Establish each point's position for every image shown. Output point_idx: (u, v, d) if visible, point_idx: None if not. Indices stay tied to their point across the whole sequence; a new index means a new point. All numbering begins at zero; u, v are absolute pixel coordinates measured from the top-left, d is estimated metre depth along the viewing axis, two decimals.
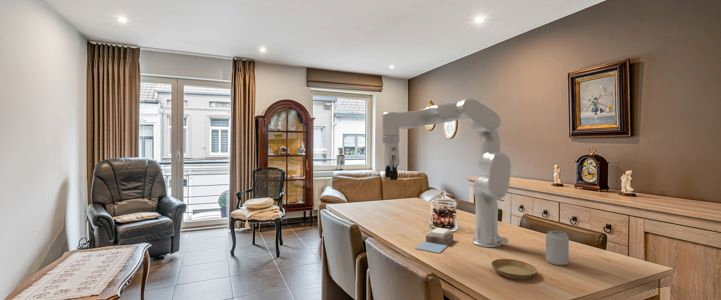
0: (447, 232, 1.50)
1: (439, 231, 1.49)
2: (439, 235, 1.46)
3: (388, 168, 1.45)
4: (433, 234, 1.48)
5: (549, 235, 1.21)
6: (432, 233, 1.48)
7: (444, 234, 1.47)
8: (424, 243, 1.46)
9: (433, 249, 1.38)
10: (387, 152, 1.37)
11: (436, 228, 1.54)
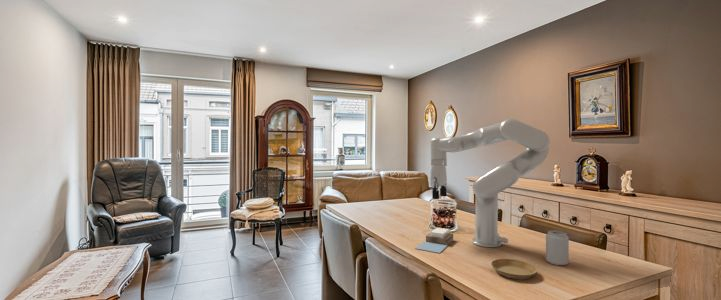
0: (447, 232, 1.50)
1: (439, 231, 1.49)
2: (439, 235, 1.46)
3: None
4: (433, 234, 1.48)
5: (549, 235, 1.21)
6: (432, 233, 1.48)
7: (444, 234, 1.47)
8: (424, 243, 1.46)
9: (433, 249, 1.38)
10: (445, 173, 1.57)
11: (436, 228, 1.54)
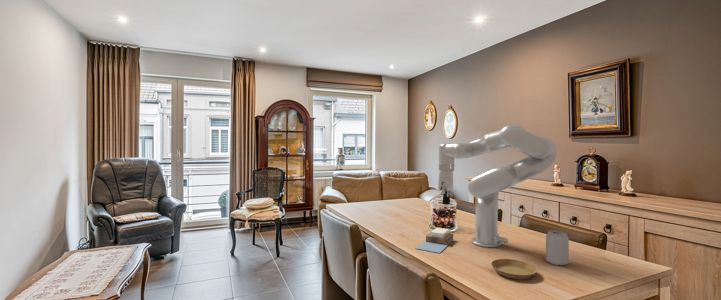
0: (447, 232, 1.50)
1: (439, 231, 1.49)
2: (439, 235, 1.46)
3: None
4: (433, 234, 1.48)
5: (549, 235, 1.21)
6: (432, 233, 1.48)
7: (444, 234, 1.47)
8: (424, 243, 1.46)
9: (433, 249, 1.38)
10: (452, 178, 1.60)
11: (436, 228, 1.54)
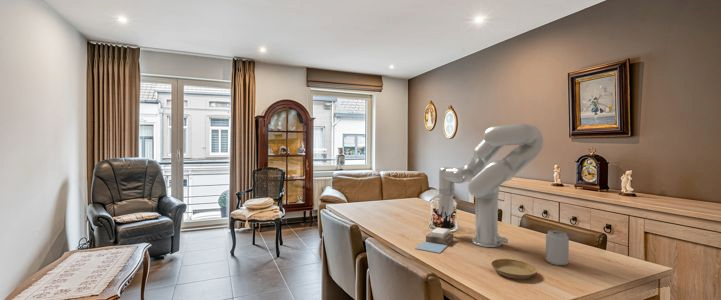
0: (447, 232, 1.50)
1: (439, 231, 1.49)
2: (439, 235, 1.46)
3: None
4: (433, 234, 1.48)
5: (549, 235, 1.21)
6: (432, 233, 1.48)
7: (444, 234, 1.47)
8: (424, 243, 1.46)
9: (433, 249, 1.38)
10: None
11: (436, 228, 1.54)
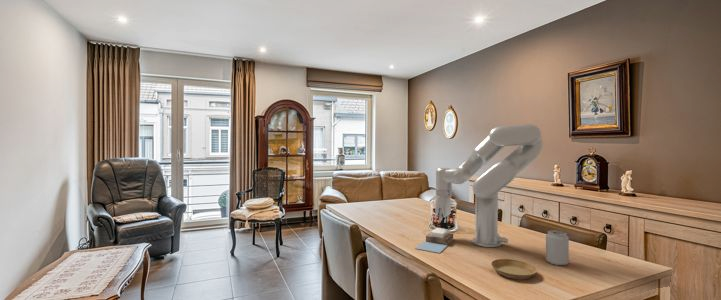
0: (447, 232, 1.50)
1: (439, 231, 1.49)
2: (439, 235, 1.46)
3: None
4: (433, 234, 1.48)
5: (549, 235, 1.21)
6: (432, 233, 1.48)
7: (444, 234, 1.47)
8: (424, 243, 1.46)
9: (433, 249, 1.38)
10: (450, 203, 1.57)
11: (436, 228, 1.54)
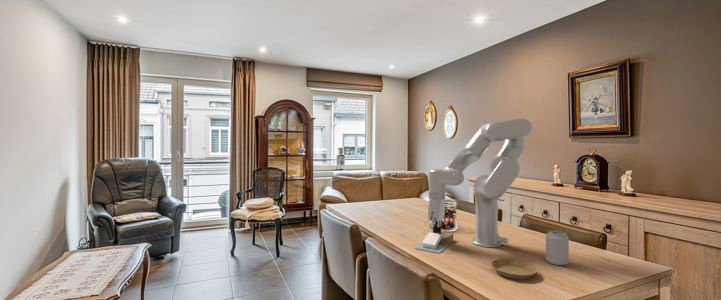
0: (439, 239, 1.43)
1: (431, 240, 1.41)
2: (431, 246, 1.39)
3: None
4: (425, 245, 1.40)
5: (549, 235, 1.21)
6: (423, 244, 1.40)
7: (436, 244, 1.39)
8: None
9: (433, 249, 1.38)
10: (443, 206, 1.48)
11: (428, 234, 1.46)
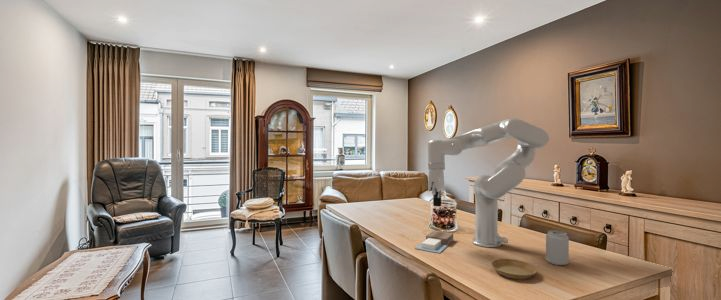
0: (439, 243, 1.42)
1: (430, 242, 1.41)
2: (430, 247, 1.38)
3: None
4: (424, 245, 1.39)
5: (549, 235, 1.21)
6: (423, 244, 1.40)
7: (435, 245, 1.38)
8: None
9: None
10: (443, 177, 1.48)
11: (427, 239, 1.46)
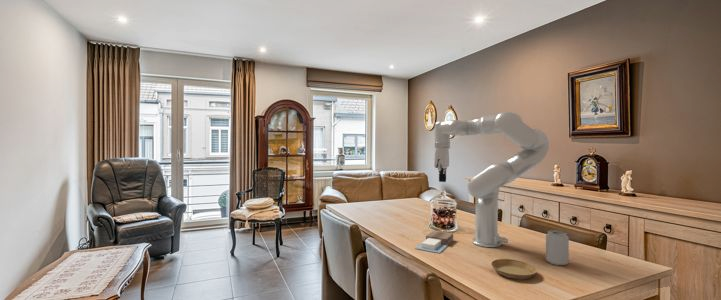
0: (439, 243, 1.42)
1: (430, 242, 1.41)
2: (430, 247, 1.38)
3: None
4: (424, 245, 1.39)
5: (549, 235, 1.21)
6: (423, 244, 1.40)
7: (435, 245, 1.38)
8: None
9: None
10: (448, 156, 1.62)
11: (427, 239, 1.46)
